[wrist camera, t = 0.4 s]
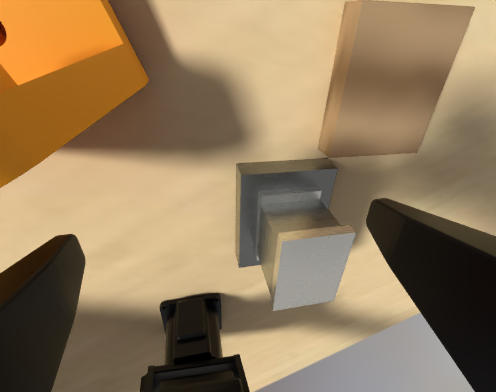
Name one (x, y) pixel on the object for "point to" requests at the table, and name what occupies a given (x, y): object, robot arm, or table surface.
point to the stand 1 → (270, 178)
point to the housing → (300, 247)
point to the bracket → (58, 76)
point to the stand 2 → (389, 75)
